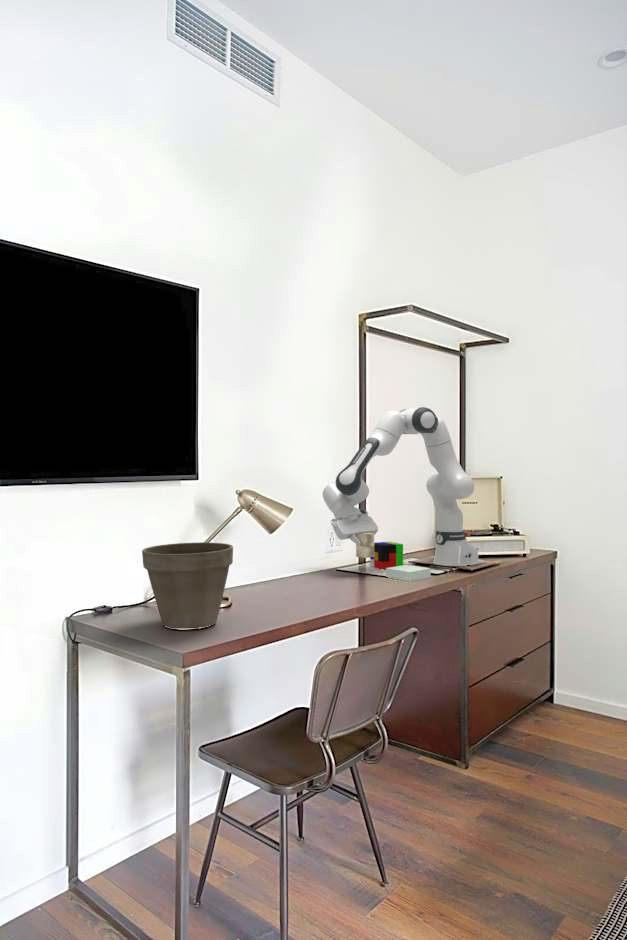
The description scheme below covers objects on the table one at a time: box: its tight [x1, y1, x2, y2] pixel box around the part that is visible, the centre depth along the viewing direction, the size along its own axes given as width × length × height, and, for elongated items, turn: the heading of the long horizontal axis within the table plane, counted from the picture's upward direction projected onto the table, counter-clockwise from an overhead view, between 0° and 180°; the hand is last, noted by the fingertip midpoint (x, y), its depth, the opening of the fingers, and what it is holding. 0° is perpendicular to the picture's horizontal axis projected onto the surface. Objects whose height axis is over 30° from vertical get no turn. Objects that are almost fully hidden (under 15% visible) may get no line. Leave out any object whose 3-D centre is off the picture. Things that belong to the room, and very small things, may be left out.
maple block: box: [355, 533, 375, 559], centre depth 266 cm, size 5×5×9 cm
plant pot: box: [141, 542, 234, 628], centre depth 190 cm, size 25×25×22 cm
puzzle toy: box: [369, 541, 404, 570], centre depth 287 cm, size 10×10×10 cm
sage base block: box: [385, 564, 432, 583], centre depth 262 cm, size 12×12×4 cm
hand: (366, 544), depth 266 cm, fingers closed on maple block, 5 cm apart
